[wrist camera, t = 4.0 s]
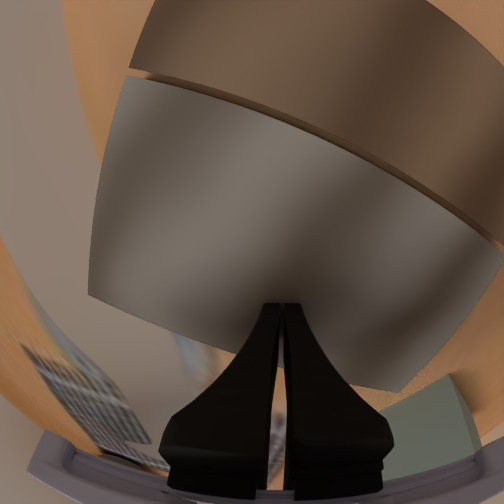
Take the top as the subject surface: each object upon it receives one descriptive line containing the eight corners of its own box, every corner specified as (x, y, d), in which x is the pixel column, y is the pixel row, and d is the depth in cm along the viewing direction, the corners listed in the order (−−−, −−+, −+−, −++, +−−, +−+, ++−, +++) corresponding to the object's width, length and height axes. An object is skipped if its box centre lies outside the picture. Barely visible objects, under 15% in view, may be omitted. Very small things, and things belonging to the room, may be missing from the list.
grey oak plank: (491, 242, 11) (506, 255, 10) (392, 374, 15) (398, 392, 14) (143, 78, 9) (126, 75, 8) (101, 278, 14) (88, 294, 12)
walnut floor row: (541, 133, 8) (559, 140, 6) (494, 237, 11) (509, 251, 10) (207, -60, 6) (198, -76, 4) (146, 70, 9) (128, 67, 8)
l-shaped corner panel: (322, 432, 21) (324, 507, 15) (447, 372, 16) (475, 454, 10) (378, 455, 25) (383, 508, 18) (470, 410, 20) (487, 466, 13)
